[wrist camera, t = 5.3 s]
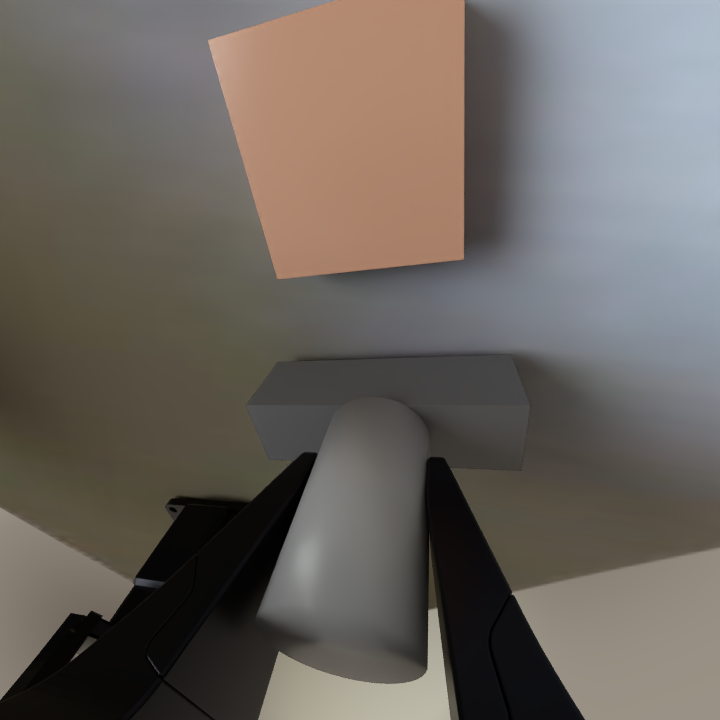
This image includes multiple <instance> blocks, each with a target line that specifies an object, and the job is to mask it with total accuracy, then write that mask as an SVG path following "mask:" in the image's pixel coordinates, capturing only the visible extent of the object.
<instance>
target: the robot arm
mask: <svg viewBox="0 0 720 720" xmlns="http://www.w3.org/2000/svg"><path fill="white" fill-rule="evenodd" d="M317 456H318V453H316V452H303V453H302V454H300V455H299V456H298V457H297V458H296V459H295V460H294V461H293V462H292V463H291V464H290V465H289V466H288V467H287V468H286V469H285V470H284V471H283V472H282V473H280V474H279V475H278V476H277V477H276V478H275V479H274V480H273V481H272V482H271V483H270V484H269V485H268V486H267V487H266V488H265V489H264V490H263V491H262V492H260V493H259V494H258V495H257V496H256V497H255V498H254V499H253V500H252V501H251V502H250V503H249V504H236V503H224V502H211V501H199V500H187V499H170V500H169V502H168V503H167V504H166V506H165V508H166V510H167V511H168V512H169V514H170V515H171V517H172V518H173V519H174V522H173V524H172V525H171V527H170V528H169V530H168V531H167V532H166V534H165V535H164V537H163V538H162V540H161V541H160V542H159V544H158V545H157V547H156V548H155V549H154V551H153V552H152V554H151V555H150V557H149V558H148V559H147V561H146V562H145V564H144V565H143V567H142V568H141V569H140V571H139V572H138V574H137V575H136V577H135V578H134V580H133V584H134V587H133V588H132V590H131V591H130V593H129V594H128V595H127V597H126V598H125V600H124V601H123V603H122V604H121V605H120V607H119V608H118V610H117V611H116V613H115V614H114V616H113V617H112V619H111V620H110V622H108V621H106V620H104V619H102V615H100V614H98V613H95V612H93V611H91V612H90V613H89V614H88V616H85V615H78V614H73V613H71V614H70V615H69V616H68V617H67V619H66V620H65V621H64V623H63V624H62V625H61V626H60V628H59V629H58V630H57V631H56V633H55V634H54V635H53V636H52V638H51V639H50V640H49V642H48V643H47V644H46V645H45V647H44V648H43V649H42V650H41V652H40V653H39V654H38V655H37V657H36V658H35V659H34V660H33V662H32V663H31V664H30V665H29V667H28V668H27V669H26V670H25V671H24V672H23V674H22V675H21V676H20V677H19V678H18V680H17V681H16V682H15V683H14V685H13V686H12V687H11V688H10V689H9V690H8V692H7V693H6V694H5V695H4V696H3V698H2V699H1V700H0V720H258V718H259V715H260V711H261V708H262V705H263V701H264V698H265V695H266V691H267V688H268V685H269V681H270V678H271V675H272V671H273V668H274V665H275V662H276V658H277V655H278V652H279V651H278V650H277V649H275V648H274V647H273V646H271V645H270V644H269V643H268V642H267V641H266V640H264V639H263V638H262V636H261V635H260V634H259V632H258V631H257V629H256V626H255V618H256V615H257V612H258V610H259V607H260V605H261V602H262V599H263V597H264V594H265V591H266V589H267V586H268V584H269V581H270V578H271V576H272V573H273V571H274V568H275V565H276V563H277V560H278V558H279V555H280V552H281V550H282V547H283V544H284V542H285V539H286V537H287V534H288V531H289V529H290V526H291V524H292V521H293V518H294V516H295V513H296V510H297V508H298V505H299V503H300V500H301V497H302V495H303V492H304V490H305V487H306V484H307V482H308V479H309V476H310V474H311V471H312V469H313V466H314V463H315V461H316V458H317ZM427 508H428V520H429V535H430V548H431V558H432V567H433V575H434V583H435V592H436V600H437V608H438V617H439V625H440V633H441V641H442V650H443V658H444V667H445V674H446V683H447V691H448V699H449V708H450V717H451V720H585V719H584V718H583V716H582V714H581V713H580V711H579V709H578V708H577V706H576V705H575V703H574V701H573V700H572V698H571V697H570V695H569V693H568V692H567V690H566V689H565V687H564V685H563V684H562V682H561V680H560V678H559V677H558V675H557V674H556V672H555V670H554V668H553V667H552V665H551V663H550V662H549V660H548V658H547V657H546V655H545V653H544V651H543V650H542V648H541V646H540V644H539V642H538V640H537V639H536V637H535V635H534V633H533V631H532V629H531V628H530V625H529V624H528V622H527V620H526V618H525V616H524V614H523V612H522V610H521V608H520V606H519V604H518V602H517V600H516V598H515V596H514V595H512V591H511V589H510V587H509V585H508V583H507V581H506V579H505V577H504V575H503V573H502V571H501V569H500V567H499V565H498V563H497V561H496V559H495V557H494V555H493V553H492V551H491V549H490V547H489V545H488V543H487V541H486V539H485V537H484V535H483V533H482V531H481V529H480V527H479V525H478V523H477V521H476V519H475V517H474V515H473V513H472V511H471V509H470V507H469V505H468V503H467V501H466V499H465V497H464V495H463V493H462V491H461V489H460V487H459V485H458V483H457V481H456V479H455V477H454V475H453V473H452V471H451V469H450V467H449V465H448V463H447V461H446V460H445V458H443V457H429V458H428V475H427ZM76 654H79V655H78V656H77V657H76V658H75V659H73V658H74V656H75V655H76ZM72 659H73V660H72Z"/></svg>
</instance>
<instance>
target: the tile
mask: <svg viewBox="0 0 720 720" xmlns="http://www.w3.org/2000/svg"><path fill="white" fill-rule="evenodd" d="M464 27H465V0H336V1H332V2H329V3H326V4H323V5H320V6H316V7H313V8H310V9H307V10H304V11H300V12H297V13H294V14H291V15H288V16H285V17H281V18H278V19H275V20H272V21H269V22H265V23H262V24H259V25H256V26H253V27H249V28H246V29H243V30H240V31H237V32H233V33H230V34H227V35H224V36H221V37H217V38H214V39H211V40H208V43H209V46H210V50H211V53H212V56H213V60H214V63H215V67H216V70H217V74H218V77H219V80H220V84H221V87H222V91H223V94H224V98H225V101H226V104H227V108H228V111H229V115H230V118H231V122H232V125H233V128H234V132H235V135H236V139H237V142H238V146H239V149H240V152H241V156H242V159H243V163H244V166H245V170H246V173H247V176H248V180H249V183H250V187H251V190H252V194H253V197H254V200H255V204H256V207H257V211H258V214H259V218H260V221H261V224H262V228H263V231H264V235H265V238H266V242H267V245H268V248H269V252H270V255H271V259H272V262H273V266H274V269H275V272H276V276H277V279H285V278H295V277H304V276H314V275H323V274H332V273H342V272H351V271H360V270H370V269H379V268H389V267H398V266H407V265H417V264H426V263H436V262H445V261H454V260H464Z"/></svg>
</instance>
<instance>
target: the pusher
mask: <svg viewBox="0 0 720 720" xmlns="http://www.w3.org/2000/svg"><path fill="white" fill-rule="evenodd" d="M530 406H531V405H530V403H529V400H528V397H527V395H526V392H525V389H524V387H523V384H522V382H521V379H520V376H519V374H518V371H517V368H516V366H515V363H514V361H513V358H512V355H511V354H502V355H472V356H442V357H412V358H382V359H352V360H321V361H291V362H277V364H276V365H275V367H274V368H273V369H272V371H271V372H270V373H269V375H268V376H267V377H266V379H265V380H264V381H263V383H262V384H261V385H260V387H259V388H258V389H257V391H256V392H255V394H254V395H253V396H252V398H251V399H250V400H249V402H248V403H247V404H246V407H247V409H248V411H249V414H250V416H251V419H252V421H253V423H254V426H255V428H256V430H257V433H258V435H259V438H260V440H261V442H262V445H263V447H264V450H265V452H266V454H267V457H268V459H269V460H291V461H294V460H295V459H296V458H297V457H298V456H299V455H300V454H302V453H303V452H316V453H318V456H317V458H316V461H315V463H314V466H313V469H312V471H311V474H310V476H309V479H308V482H307V484H306V487H305V490H304V492H303V495H302V497H301V500H300V503H299V505H298V508H297V510H296V513H295V516H294V518H293V521H292V524H291V526H290V529H289V531H288V534H287V537H286V539H285V542H284V544H283V547H282V550H281V552H280V555H279V558H278V560H277V563H276V565H275V568H274V571H273V573H272V576H271V578H270V581H269V584H268V586H267V589H266V591H265V594H264V597H263V599H262V602H261V605H260V607H259V610H258V612H257V615H256V618H255V626H256V629H257V631H258V632H259V634H260V635H261V636H262V638H263V639H264V640H266V641H267V642H268V643H269V644H270V645H271V646H273V647H274V648H275V649H277V650H278V651H280V652H282V653H283V654H285V655H287V656H288V657H290V658H292V659H294V660H296V661H298V662H300V663H303V664H305V665H307V666H310V667H312V668H315V669H318V670H320V671H323V672H327V673H330V674H333V675H336V676H340V677H344V678H348V679H353V680H358V681H364V682H371V683H386V684H393V683H405V682H410V681H413V680H416V679H418V678H420V677H422V676H423V675H424V674H425V673H426V671H427V663H428V662H427V661H428V660H427V659H428V657H427V656H428V583H429V520H428V508H427V475H428V458H429V457H443V458H445V460H446V461H447V463H448V465H449V467H450V468H469V469H491V470H513V471H521V470H522V463H523V456H524V449H525V441H526V434H527V427H528V420H529V413H530Z"/></svg>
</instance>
